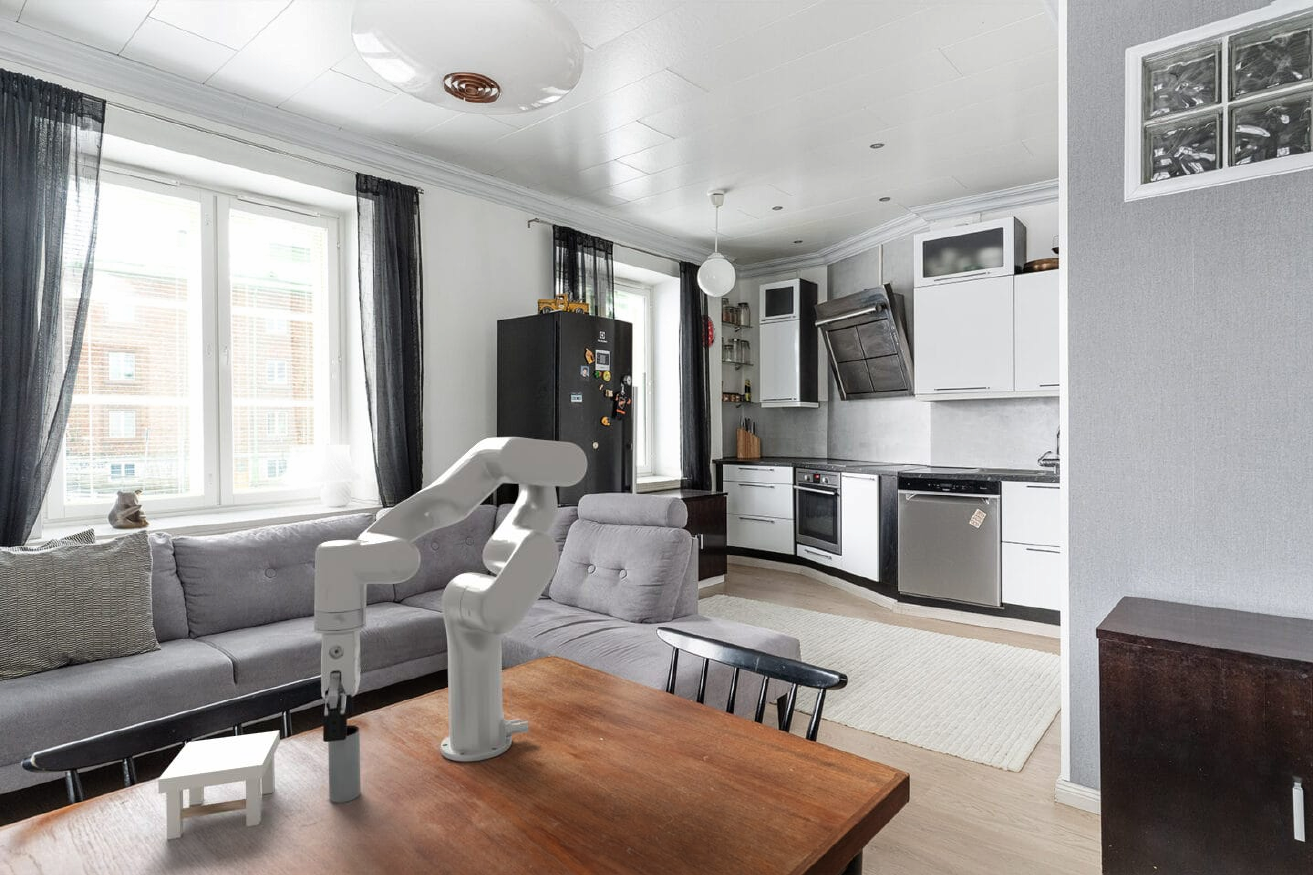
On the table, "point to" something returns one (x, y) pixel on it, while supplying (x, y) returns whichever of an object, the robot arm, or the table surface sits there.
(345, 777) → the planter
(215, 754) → the stool
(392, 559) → the robot arm
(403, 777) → the table surface
